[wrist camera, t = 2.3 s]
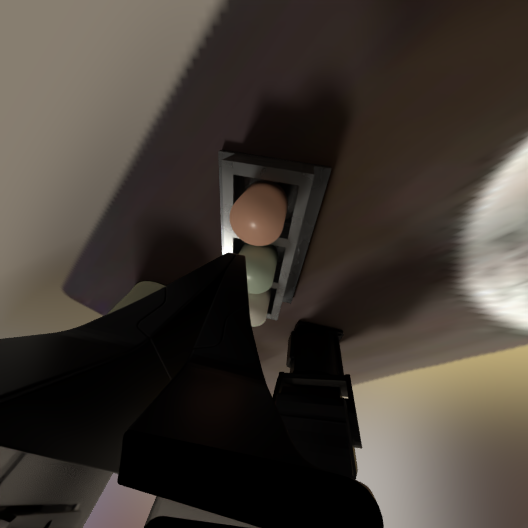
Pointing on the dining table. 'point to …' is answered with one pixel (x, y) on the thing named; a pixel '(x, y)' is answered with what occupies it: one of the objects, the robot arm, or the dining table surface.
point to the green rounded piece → (260, 266)
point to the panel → (297, 217)
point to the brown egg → (259, 213)
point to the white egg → (259, 307)
